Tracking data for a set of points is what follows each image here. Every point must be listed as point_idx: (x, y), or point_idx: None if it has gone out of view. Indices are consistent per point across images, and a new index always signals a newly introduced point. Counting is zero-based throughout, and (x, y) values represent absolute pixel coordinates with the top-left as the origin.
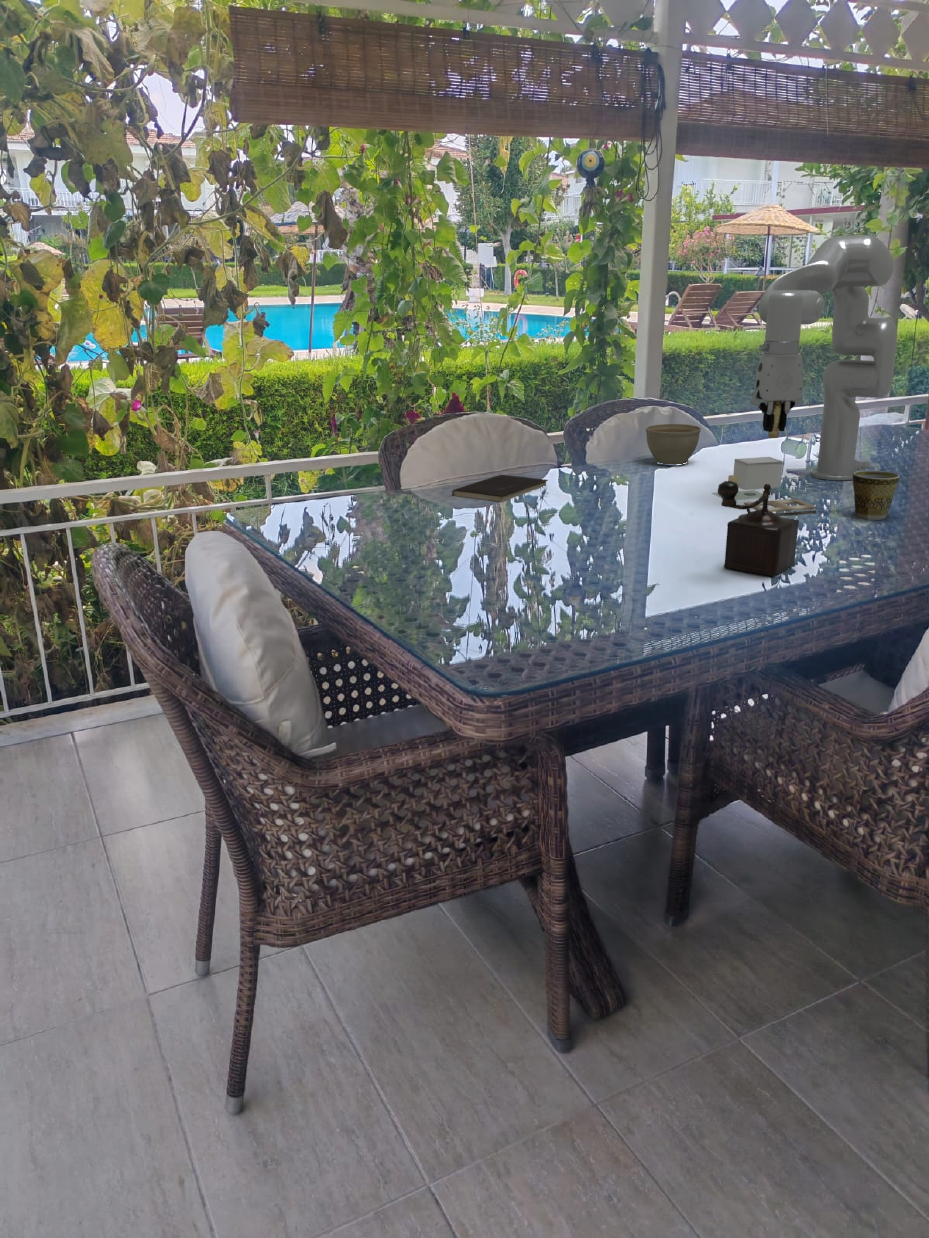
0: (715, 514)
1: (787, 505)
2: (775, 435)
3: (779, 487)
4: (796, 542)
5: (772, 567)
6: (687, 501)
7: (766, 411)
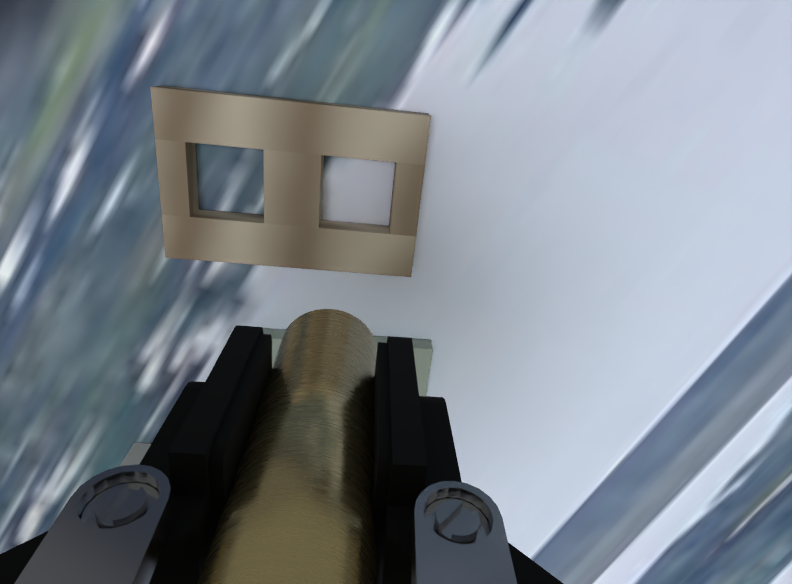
0: (559, 232)
1: (268, 164)
2: (335, 321)
3: (131, 454)
4: None
5: None
6: (520, 427)
7: (499, 544)
